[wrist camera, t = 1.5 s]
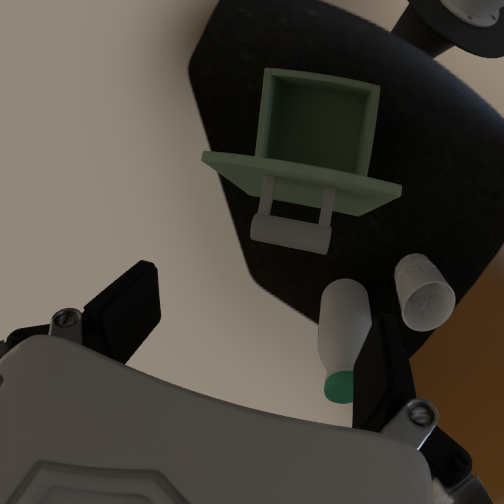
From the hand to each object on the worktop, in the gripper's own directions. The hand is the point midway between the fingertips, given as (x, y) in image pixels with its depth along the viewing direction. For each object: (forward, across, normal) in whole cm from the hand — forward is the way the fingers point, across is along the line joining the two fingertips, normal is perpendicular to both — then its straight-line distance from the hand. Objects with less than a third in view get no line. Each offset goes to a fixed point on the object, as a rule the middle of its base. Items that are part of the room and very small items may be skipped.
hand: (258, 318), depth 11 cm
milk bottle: (+32, -9, +17) cm, 37 cm away
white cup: (+32, -19, +10) cm, 38 cm away
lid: (+15, 0, -2) cm, 15 cm away
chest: (+32, 0, -7) cm, 32 cm away
